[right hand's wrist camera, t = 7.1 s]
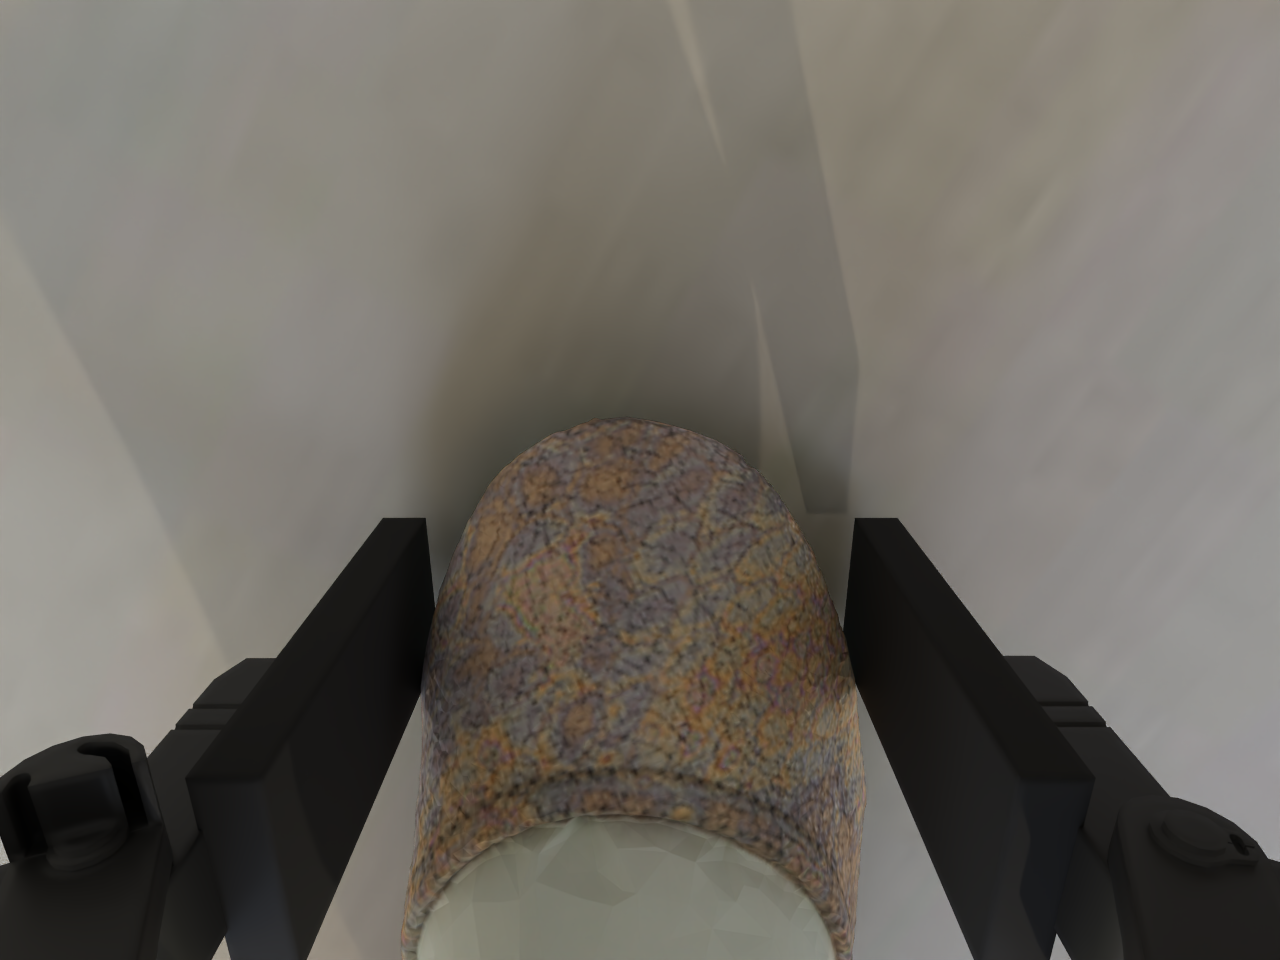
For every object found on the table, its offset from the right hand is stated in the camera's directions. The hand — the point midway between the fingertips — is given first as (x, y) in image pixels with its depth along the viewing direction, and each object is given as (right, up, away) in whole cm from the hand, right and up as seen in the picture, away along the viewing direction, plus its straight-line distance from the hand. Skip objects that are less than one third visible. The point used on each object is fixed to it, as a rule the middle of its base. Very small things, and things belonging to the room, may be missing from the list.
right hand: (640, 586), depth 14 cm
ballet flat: (0, -8, +3) cm, 9 cm away
